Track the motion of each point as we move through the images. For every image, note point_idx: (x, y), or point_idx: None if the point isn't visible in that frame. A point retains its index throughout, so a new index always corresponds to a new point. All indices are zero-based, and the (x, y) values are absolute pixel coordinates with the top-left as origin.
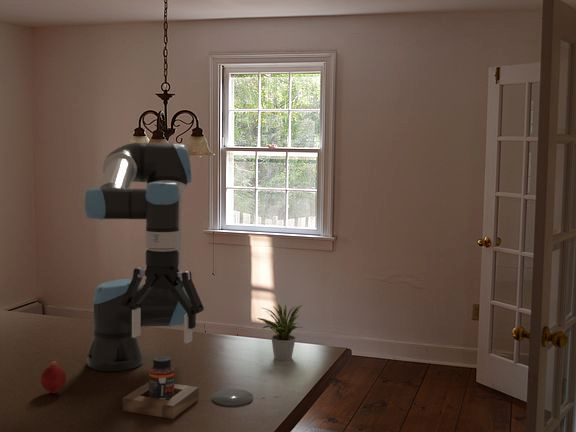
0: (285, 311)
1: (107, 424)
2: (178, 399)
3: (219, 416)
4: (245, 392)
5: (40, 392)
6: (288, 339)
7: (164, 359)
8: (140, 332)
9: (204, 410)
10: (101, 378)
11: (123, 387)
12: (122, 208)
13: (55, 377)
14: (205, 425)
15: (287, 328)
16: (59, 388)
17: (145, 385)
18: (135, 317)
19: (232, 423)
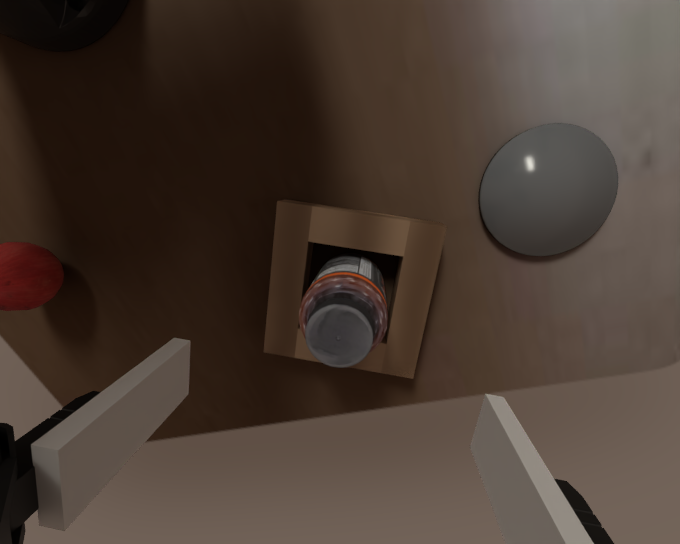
0: None
1: (276, 409)
2: (413, 334)
3: (523, 326)
4: (589, 148)
5: None
6: None
7: (353, 348)
8: (183, 346)
9: (475, 296)
10: (95, 118)
11: (195, 178)
12: None
13: (30, 304)
14: (497, 382)
15: None
16: (63, 278)
17: (280, 248)
18: (111, 467)
19: (564, 361)
